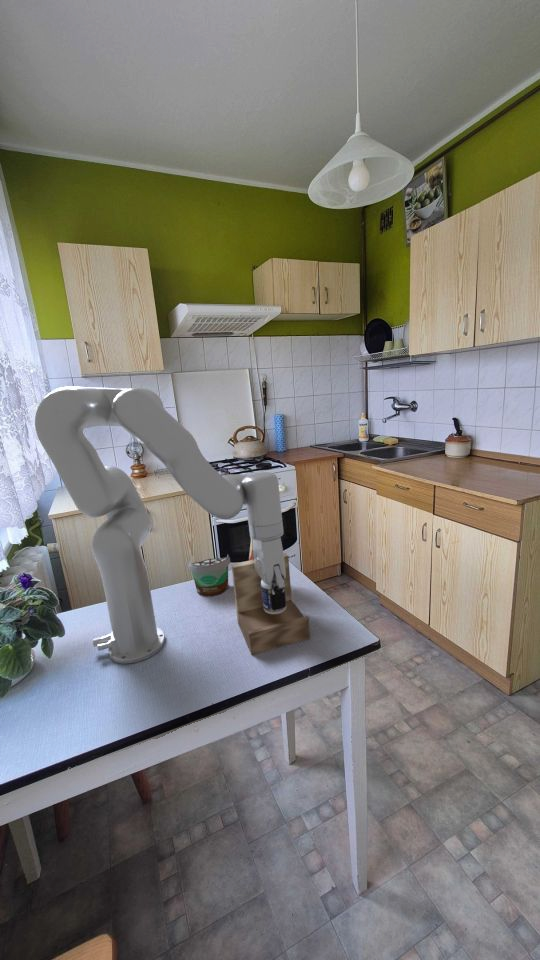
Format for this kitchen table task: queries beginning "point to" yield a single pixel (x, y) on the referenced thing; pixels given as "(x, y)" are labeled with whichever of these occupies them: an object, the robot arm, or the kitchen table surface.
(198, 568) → the food container
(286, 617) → the cardboard holder
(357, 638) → the kitchen table surface
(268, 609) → the pill bottle
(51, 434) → the robot arm
